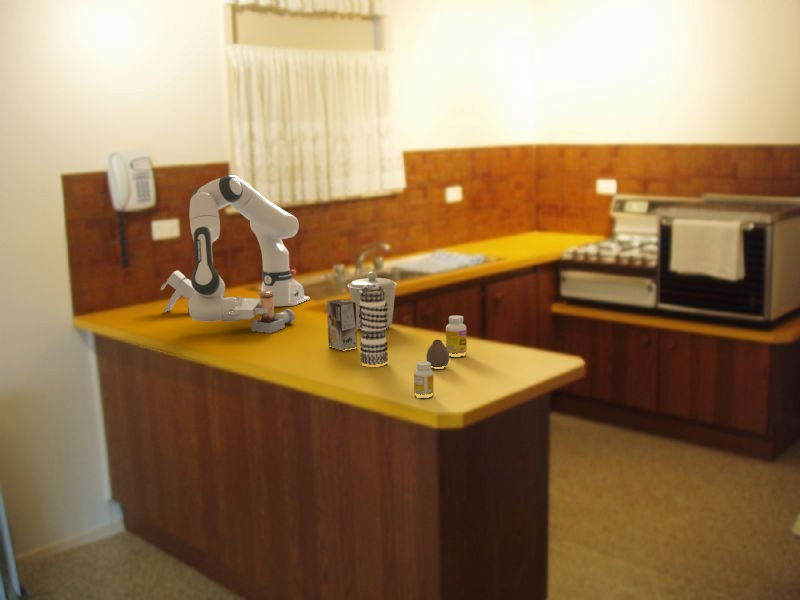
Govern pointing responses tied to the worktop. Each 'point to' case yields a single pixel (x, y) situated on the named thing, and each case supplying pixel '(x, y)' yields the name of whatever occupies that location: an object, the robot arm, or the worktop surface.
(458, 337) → the supplement bottle
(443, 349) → the vase
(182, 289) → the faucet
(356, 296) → the canister
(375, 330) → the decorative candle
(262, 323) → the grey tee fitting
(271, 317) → the copper pipe stub
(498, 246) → the worktop surface
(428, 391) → the supplement bottle
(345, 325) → the coffee box
